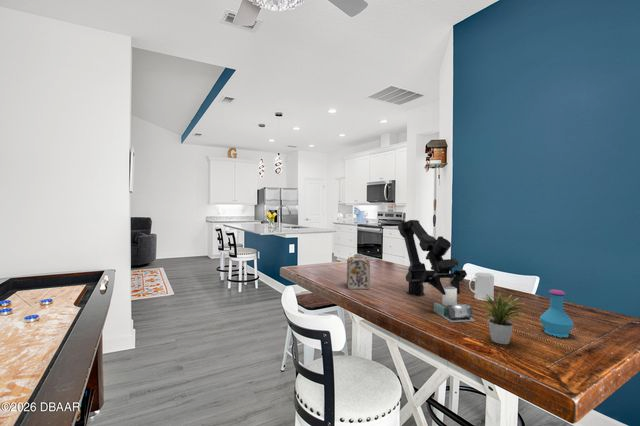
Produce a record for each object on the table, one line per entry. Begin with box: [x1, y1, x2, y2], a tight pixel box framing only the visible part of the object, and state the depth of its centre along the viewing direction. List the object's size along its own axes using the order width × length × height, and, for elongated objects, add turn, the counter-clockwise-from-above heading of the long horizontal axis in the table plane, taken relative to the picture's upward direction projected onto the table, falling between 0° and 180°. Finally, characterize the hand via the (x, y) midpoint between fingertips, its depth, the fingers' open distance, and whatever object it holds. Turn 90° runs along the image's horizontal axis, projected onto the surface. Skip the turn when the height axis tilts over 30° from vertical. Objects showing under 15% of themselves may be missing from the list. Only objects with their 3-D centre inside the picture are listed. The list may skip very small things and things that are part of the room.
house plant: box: [481, 290, 529, 345], centre depth 96 cm, size 14×14×16 cm
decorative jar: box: [346, 253, 371, 290], centre depth 164 cm, size 12×12×18 cm
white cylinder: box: [441, 285, 458, 308], centre depth 123 cm, size 6×6×10 cm
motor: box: [432, 302, 475, 323], centre depth 120 cm, size 13×10×6 cm
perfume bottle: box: [539, 289, 574, 338], centre depth 104 cm, size 9×9×15 cm
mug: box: [468, 271, 495, 302], centre depth 144 cm, size 12×8×12 cm
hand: (451, 294), depth 121 cm, fingers open, 6 cm apart
